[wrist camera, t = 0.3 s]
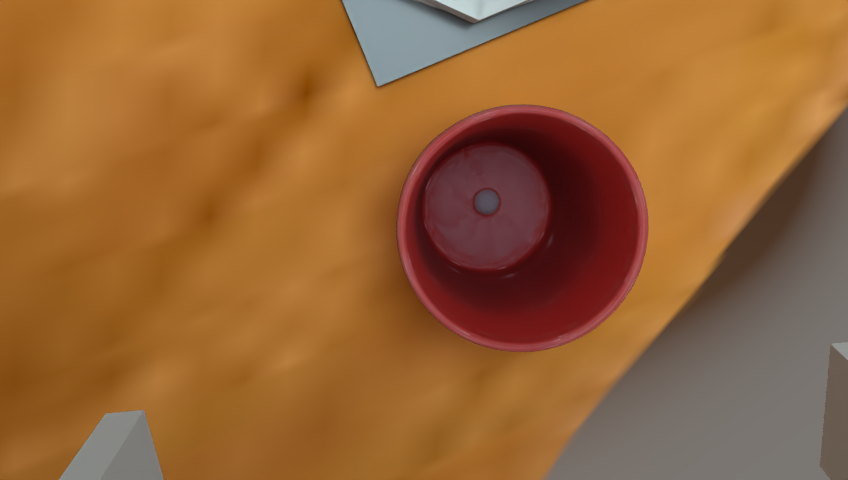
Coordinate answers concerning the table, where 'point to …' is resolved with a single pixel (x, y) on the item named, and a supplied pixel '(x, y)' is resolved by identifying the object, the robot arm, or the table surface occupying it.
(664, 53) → the table surface
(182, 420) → the table surface
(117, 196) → the table surface
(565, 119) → the flower pot
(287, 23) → the table surface
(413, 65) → the grey octagonal tray
